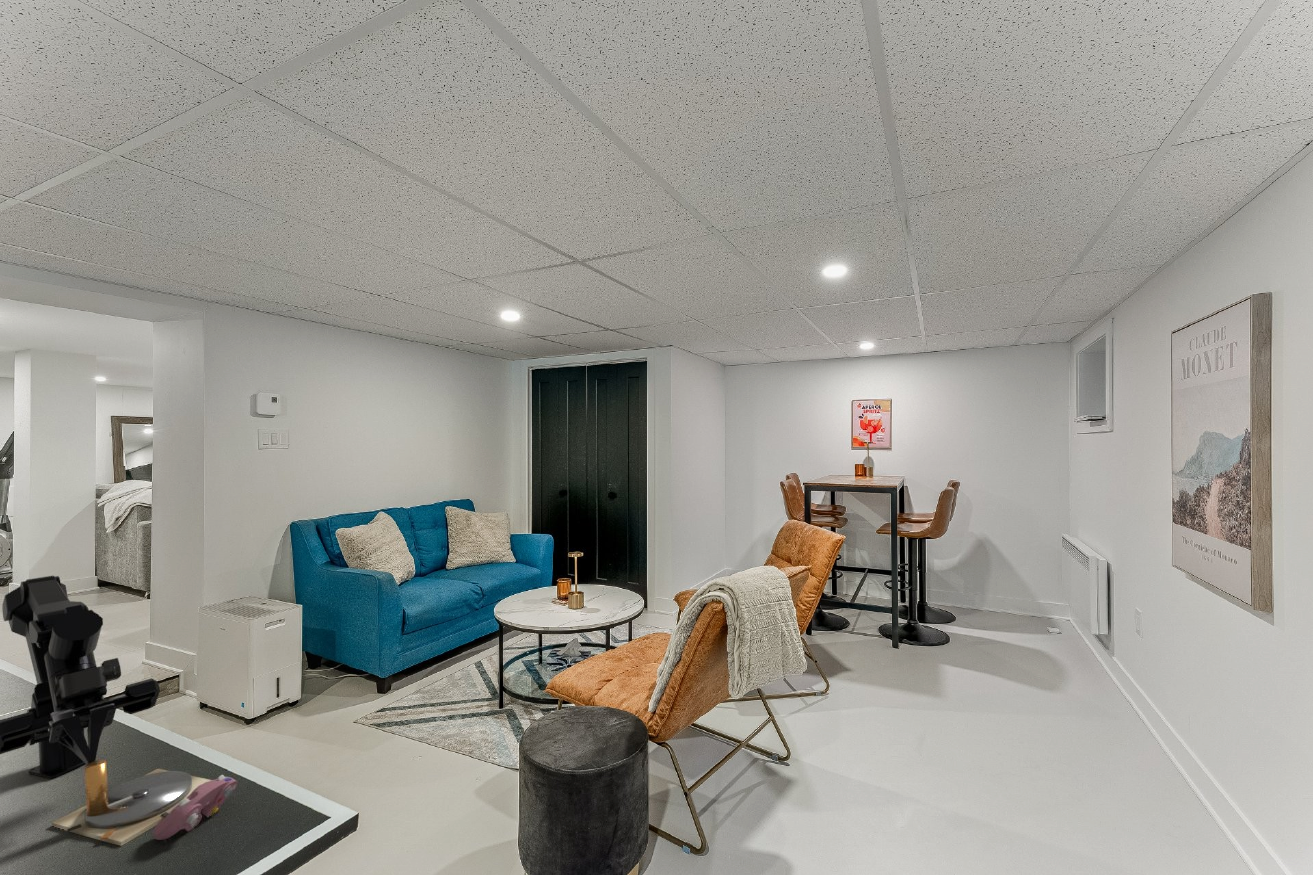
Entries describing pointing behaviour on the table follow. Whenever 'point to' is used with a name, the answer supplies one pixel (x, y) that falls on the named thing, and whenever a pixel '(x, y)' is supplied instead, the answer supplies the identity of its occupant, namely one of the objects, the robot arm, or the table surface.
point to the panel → (122, 833)
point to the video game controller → (196, 807)
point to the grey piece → (130, 796)
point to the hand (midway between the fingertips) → (91, 763)
